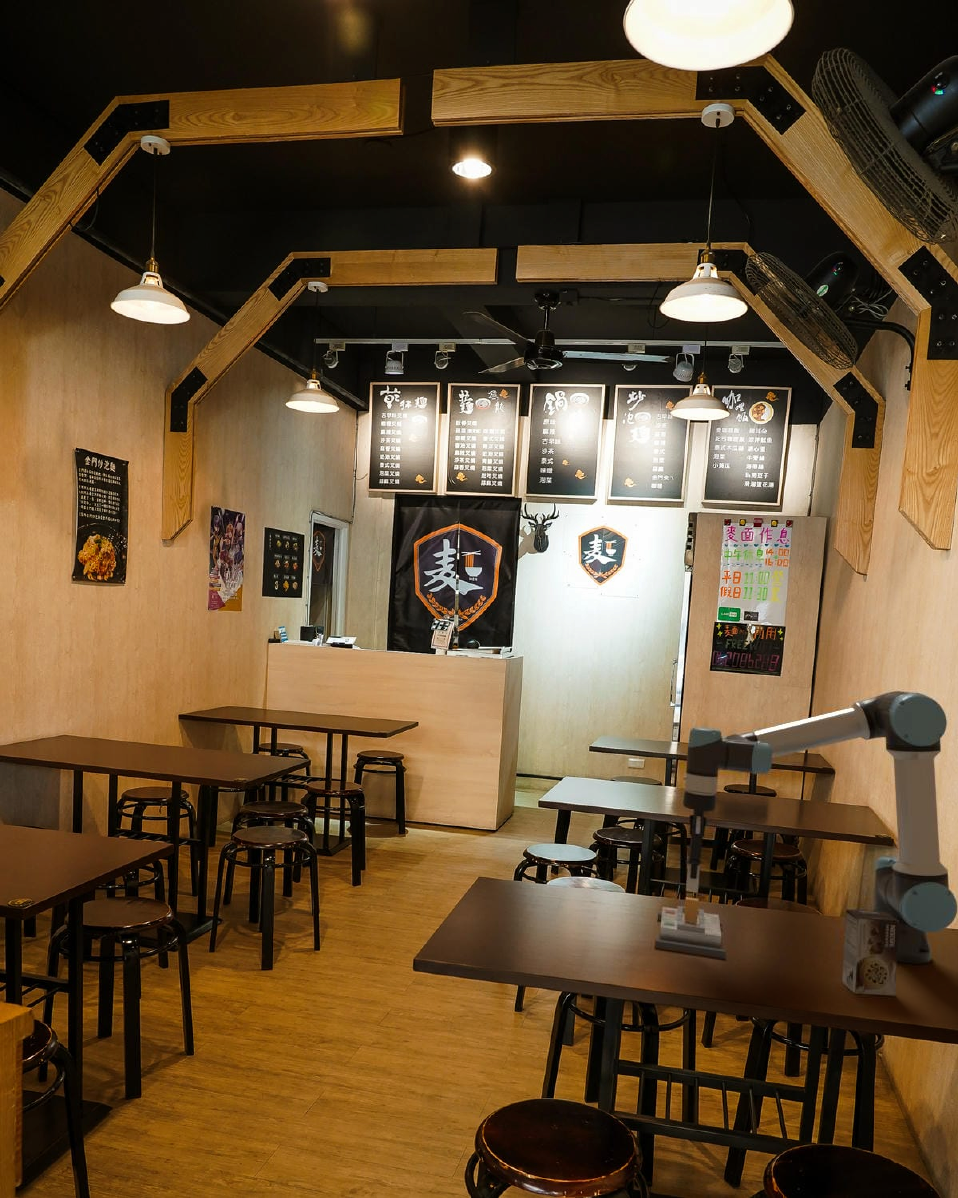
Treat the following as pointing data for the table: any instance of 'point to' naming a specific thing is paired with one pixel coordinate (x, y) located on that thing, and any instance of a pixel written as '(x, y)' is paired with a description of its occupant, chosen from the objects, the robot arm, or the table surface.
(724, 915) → the table surface
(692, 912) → the lever
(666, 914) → the panel
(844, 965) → the coffee box
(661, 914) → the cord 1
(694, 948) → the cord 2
